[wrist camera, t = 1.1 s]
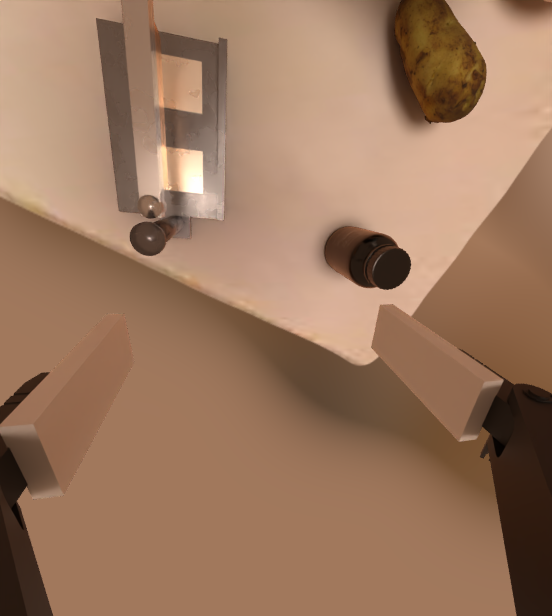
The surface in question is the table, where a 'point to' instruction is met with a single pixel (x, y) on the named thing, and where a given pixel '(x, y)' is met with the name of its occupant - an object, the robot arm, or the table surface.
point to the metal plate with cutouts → (172, 121)
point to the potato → (439, 59)
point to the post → (159, 233)
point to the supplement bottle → (367, 258)
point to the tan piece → (146, 104)
